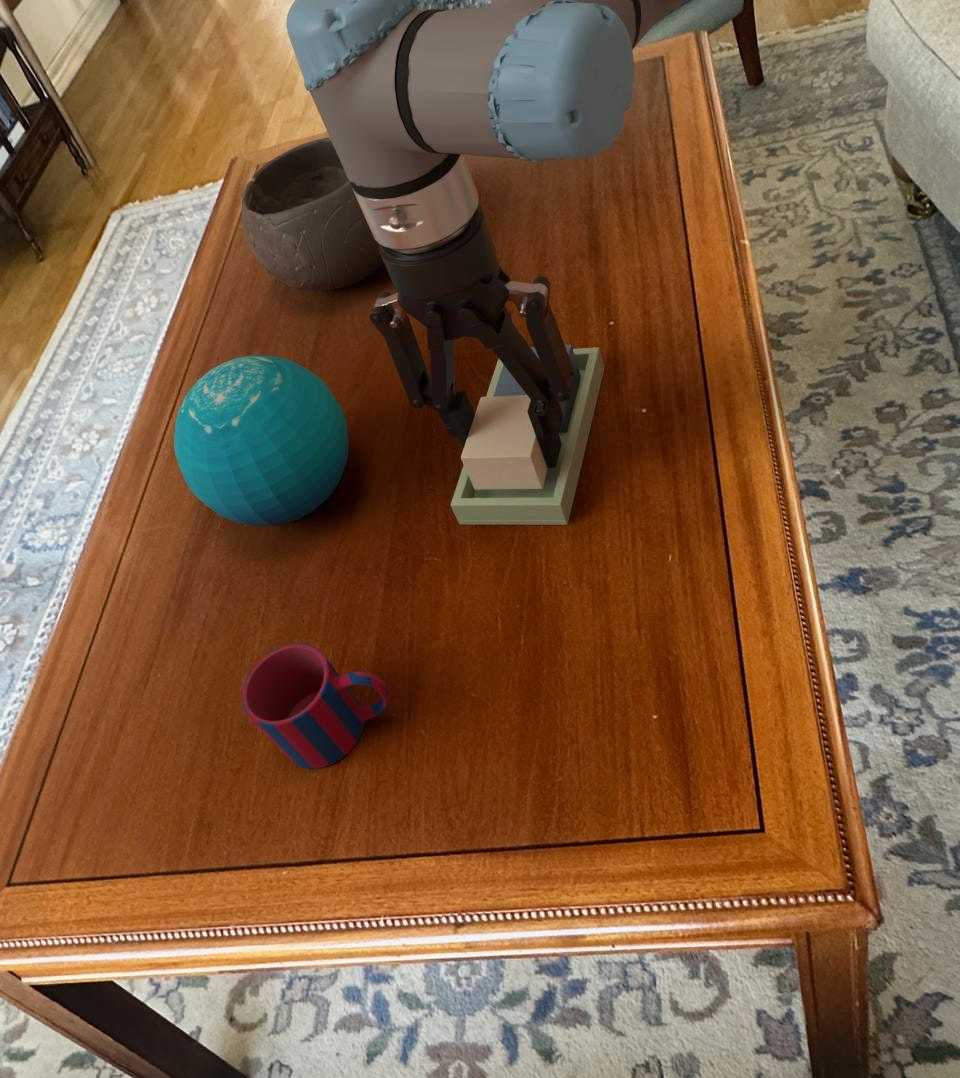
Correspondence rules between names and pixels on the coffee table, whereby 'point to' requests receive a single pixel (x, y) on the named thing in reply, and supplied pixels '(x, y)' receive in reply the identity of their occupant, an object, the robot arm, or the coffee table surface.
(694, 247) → the coffee table surface
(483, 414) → the beige block
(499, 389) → the blue rectangular block
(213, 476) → the decorative orb
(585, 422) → the tray
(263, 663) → the mug
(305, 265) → the bowl
